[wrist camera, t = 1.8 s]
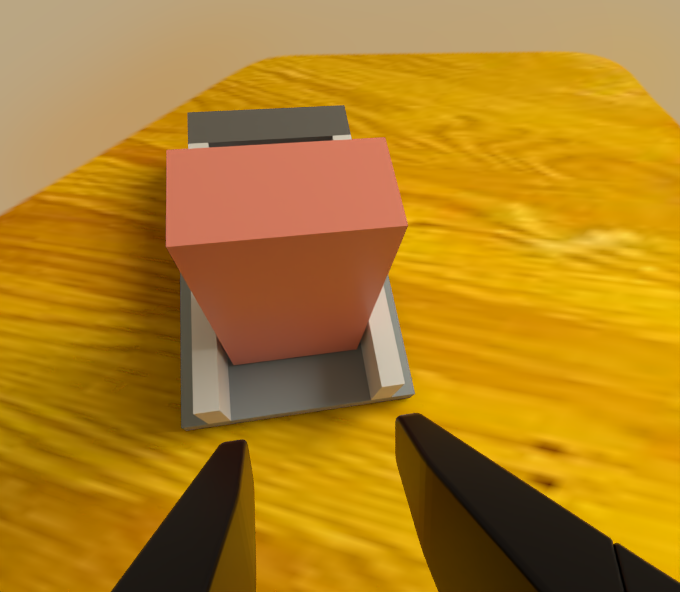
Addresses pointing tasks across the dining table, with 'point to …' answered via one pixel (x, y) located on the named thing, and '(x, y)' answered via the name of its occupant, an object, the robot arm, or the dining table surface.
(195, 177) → the plug
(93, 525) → the dining table surface
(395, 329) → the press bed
